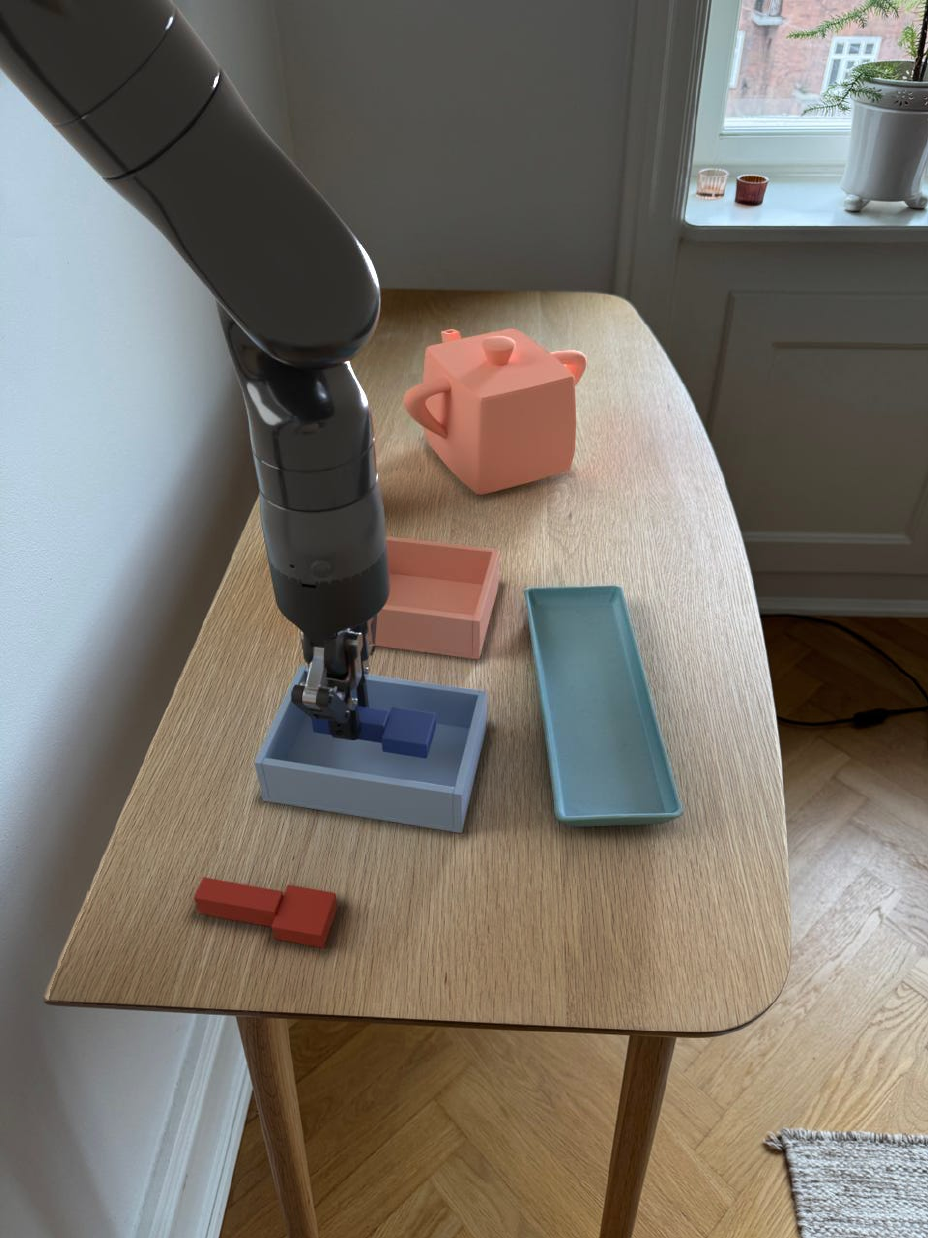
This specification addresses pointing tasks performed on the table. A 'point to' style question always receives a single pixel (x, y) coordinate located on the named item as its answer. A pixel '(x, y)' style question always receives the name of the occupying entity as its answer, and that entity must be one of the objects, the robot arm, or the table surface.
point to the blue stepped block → (393, 729)
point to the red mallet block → (271, 909)
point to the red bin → (438, 597)
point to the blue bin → (379, 758)
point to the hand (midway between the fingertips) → (350, 724)
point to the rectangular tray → (598, 710)
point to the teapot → (498, 407)
